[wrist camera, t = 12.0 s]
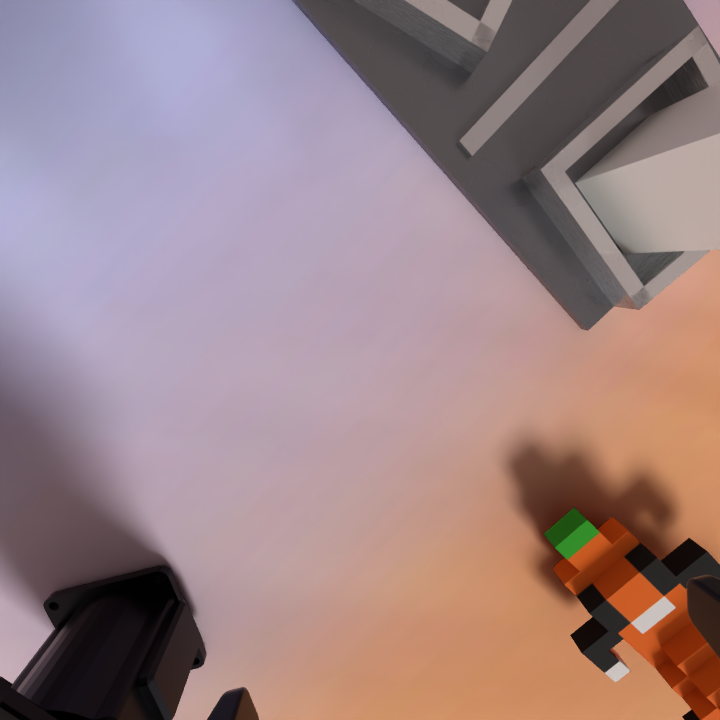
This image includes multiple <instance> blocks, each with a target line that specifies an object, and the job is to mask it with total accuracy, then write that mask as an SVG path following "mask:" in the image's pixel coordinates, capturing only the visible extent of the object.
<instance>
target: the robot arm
mask: <svg viewBox="0 0 720 720" xmlns="http://www.w3.org/2000/svg"><path fill="white" fill-rule="evenodd" d="M159 575H160V576H162V577H163V578H161V577H159ZM44 609H45V611H46V613H47V614H48V616H49V618H50V620H51V622H52V624H53V626H54V627H55V629H54V631H53V632H52V633H51V635H50V636H49V637H48V638H47V640H46V641H45V642H44V644H43V645H42V646H41V648H40V649H39V650H38V652H37V653H36V654H35V655H34V657H33V658H32V659H31V661H30V662H29V663H28V665H27V666H26V667H25V668H24V670H23V671H22V672H21V674H20V675H19V676H18V678H17V679H16V680H15V682H14V683H13V684H12V683H10V682H9V681H7V680H6V679H4V678H3V677H1V676H0V720H172V719H173V717H174V715H175V713H176V710H177V707H178V704H179V701H180V699H181V696H182V693H183V690H184V687H185V684H186V682H187V679H188V676H189V673H190V670H193V669H196V668H199V667H201V666H202V665H203V664H204V661H205V658H206V655H207V654H206V650H205V648H204V646H203V643H202V641H201V635H200V633H199V630H198V628H197V626H196V623H195V621H194V619H193V616H192V614H191V612H190V609H189V607H188V605H187V603H186V602H185V601H184V599H183V596H182V594H181V592H180V589H179V587H178V585H177V582H176V580H175V578H174V575H173V573H172V571H171V570H170V568H168V567H167V566H157V567H153V568H149V569H145V570H141V571H137V572H133V573H129V574H125V575H121V576H117V577H113V578H109V579H105V580H101V581H97V582H93V583H89V584H85V585H81V586H77V587H73V588H69V589H65V590H61V591H57V592H54V593H52V594H51V595H50V596H49V597H48V599H47V600H46V601H45V602H44ZM687 610H688V614H689V617H690V619H691V621H692V623H693V624H694V626H695V627H696V628H697V630H698V631H699V632H700V634H701V635H702V636H703V638H704V639H705V640H706V642H707V643H708V644H709V646H710V647H711V648H712V650H713V651H714V652H715V653H716V655H717V656H718V657H719V659H720V579H719V578H717V577H714V576H711V575H703V576H699V577H694V578H691V579H689V580H688V581H687ZM207 720H259V718H258V714H257V712H256V709H255V707H254V704H253V702H252V699H251V697H250V694H249V692H248V690H247V689H246V688H244V687H241V688H237V689H233V690H229V691H227V692H225V693H224V694H223V695H222V697H221V698H220V700H219V701H218V703H217V705H216V706H215V708H214V709H213V711H212V712H211V714H210V716H209V717H208V719H207Z"/></svg>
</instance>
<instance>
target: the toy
mask: <svg viewBox="0 0 720 720" xmlns="http://www.w3.org/2000/svg"><path fill="white" fill-rule="evenodd" d="M544 535H545V536H546V538H547V539H548V540H549V541H550V543H551V544H552V545H553V546H554V548H555V549H556V550H558V551H559V552H560V553H561V554H562V555H563V556H564V558H563V559H562V560H561V561H560V562H558V563H557V564H556V565H555V568H554V569H553V570H554V572H555V573H556V574H557V576H558V577H559V578H560V580H561V581H562V582H563V584H564V585H565V586H566V587H567V588H568V589H569V590H570V591H571V592H573V593H574V594H575V595H576V596H577V597H578V599H579V600H580V601H581V603H582V604H583V605H584V607H585V608H586V609H587V611H588V612H589V613H590V614H591V615H592V616H593V617H592V618H591V619H590V620H588V621H587V622H586V623H585V624H583V625H582V626H581V627H580V628H579V629H577V630H576V631H575V632H574V633H573V634H571V635H570V636H571V637H572V639H573V640H574V642H575V643H576V645H577V646H578V648H579V649H580V651H581V653H582V654H583V655H585V656H586V657H587V658H588V659H589V660H590V661H592V662H593V663H594V664H595V665H596V666H597V667H598V668H600V669H601V670H602V671H603V672H604V673H605V674H607V675H608V676H609V677H610V678H611V679H612V680H613V681H615V682H617V681H618V680H619V679H621V678H622V677H623V676H624V675H626V674H627V673H628V672H630V669H629V668H628V667H627V665H626V664H625V663H624V661H623V660H622V659H621V657H620V656H619V655H618V653H617V652H616V651H615V650H614V649H612V648H613V647H614V646H615V645H616V644H618V643H619V642H620V641H621V640H623V639H624V640H625V641H626V642H627V643H628V644H630V645H631V646H632V647H633V648H634V649H635V650H636V651H637V652H638V653H639V654H641V655H642V656H643V657H644V658H645V659H646V660H647V661H648V662H649V663H650V664H651V665H653V666H654V667H655V668H656V669H657V670H658V672H659V673H660V674H661V675H662V677H663V678H664V679H665V680H666V682H667V683H668V684H669V685H670V687H671V688H672V689H673V690H674V691H675V692H676V693H678V694H679V695H680V696H681V697H682V698H683V699H684V700H685V702H686V703H687V704H688V705H689V706H690V708H691V709H692V710H690V711H689V712H688V713H686V714H685V715H684V716H682V717H683V718H684V720H720V659H719V657H718V656H717V655H716V653H715V652H714V651H713V650H712V648H711V647H710V646H709V644H708V643H707V642H706V640H705V639H704V638H703V636H702V635H701V634H700V632H699V631H698V630H697V628H696V627H695V626H694V624H693V623H692V621H691V619H690V617H689V614H688V610H687V590H686V588H687V581H688V580H689V579H691V578H694V577H699V576H703V575H711V576H714V577H717V578H719V579H720V565H719V564H718V562H717V561H716V560H715V559H714V558H713V557H712V556H711V555H710V554H709V553H708V552H707V551H706V550H705V549H703V548H702V547H701V546H699V545H698V544H697V543H695V542H694V541H693V540H691V539H690V538H688V539H687V540H686V541H685V542H683V543H682V544H681V545H680V546H679V547H677V548H676V549H675V550H674V551H672V552H671V553H670V554H669V555H668V556H666V557H665V558H664V559H663V560H662V561H660V560H659V559H658V558H657V557H656V556H655V555H654V554H652V553H651V552H650V551H649V550H648V549H647V548H646V547H645V546H643V545H642V544H641V543H640V542H639V541H638V540H637V539H636V538H635V537H634V536H633V535H632V534H631V533H630V532H629V531H628V530H627V529H626V528H625V527H624V526H623V525H622V524H620V523H619V522H618V521H617V520H616V519H615V518H612V517H611V518H610V519H609V520H608V521H606V522H605V523H604V524H603V525H602V526H601V527H599V528H598V529H596V528H595V527H594V526H593V525H592V524H591V523H590V522H589V521H588V520H587V519H586V518H585V517H584V516H583V515H582V514H581V513H580V512H579V511H578V510H577V509H576V508H575V507H574V508H573V509H572V510H571V511H569V512H568V513H567V514H566V515H565V516H564V517H562V518H561V519H560V520H559V521H558V522H557V523H556V524H554V525H553V526H552V527H551V528H550V529H549V530H548V531H546V532H545V533H544Z"/></svg>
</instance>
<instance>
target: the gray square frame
mask: <svg viewBox="0 0 720 720" xmlns="http://www.w3.org/2000/svg"><path fill="white" fill-rule="evenodd" d="M354 1H355V2H357V3H359V4H360V5H362V6H363V7H365V8H367V9H368V10H370V11H372V12H373V13H375V14H376V15H378V16H380V17H381V18H383V19H385V20H386V21H388V22H389V23H391V24H393V25H394V26H396V27H398V28H399V29H401V30H402V31H404V32H406V33H407V34H409V35H411V36H412V37H414V38H416V39H417V40H419V41H420V42H422V43H424V44H425V45H427V46H429V47H430V48H432V49H433V50H435V51H437V52H438V53H440V54H442V55H443V56H445V57H446V58H448V59H450V60H451V61H453V62H455V63H456V64H458V65H459V66H461V67H463V68H464V69H466V70H468V71H469V72H471V73H473V71H474V70H475V69H476V67H477V66H478V64H479V63H480V62H481V60H482V59H483V57H484V56H485V55H486V53H487V52H488V50H489V48H490V45H491V43H492V41H493V39H494V37H495V35H496V33H497V31H498V29H499V27H500V25H501V23H502V20H503V18H504V16H505V14H506V12H507V10H508V8H509V6H510V4H511V2H512V0H487V1H486V4H485V6H484V8H483V10H482V12H481V14H480V16H479V18H478V20H477V19H475V18H474V17H472V16H471V15H469V14H468V13H466V12H465V11H463V10H461V9H460V8H458V7H457V6H455V5H454V4H452V3H451V2H449V1H447V0H354Z"/></svg>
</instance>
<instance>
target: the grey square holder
mask: <svg viewBox="0 0 720 720" xmlns="http://www.w3.org/2000/svg"><path fill="white" fill-rule="evenodd" d="M719 82H720V64H719V62H718V60H717V58H716V57H715V55H714V53H713V51H712V49H711V47H710V46H709V44H708V42H707V40H706V38H705V36H704V35H703V33H702V31H701V29H700V27H699V25H698V26H697V27H695V28H694V29H692V30H691V31H689V32H688V33H686V34H685V35H683V36H682V37H680V38H679V39H677V40H676V41H674V42H673V43H671V44H670V45H668V46H667V47H665V48H663V49H662V50H661V51H660V52H659V53H658V54H657V55H656V56H655V57H654V58H652V59H651V60H650V61H649V62H648V63H647V64H646V65H645V66H644V67H643V68H642V69H640V70H639V71H638V72H637V73H636V74H635V75H634V76H633V77H632V78H631V79H630V80H628V81H627V82H626V83H625V84H624V85H623V86H622V87H621V88H620V89H619V90H618V91H616V92H615V93H614V94H613V95H612V96H611V97H610V98H609V99H608V100H607V101H606V102H604V103H603V104H602V105H601V106H600V107H599V108H598V109H597V110H596V111H595V112H594V113H592V114H591V115H590V116H589V117H588V118H587V119H586V120H585V121H584V122H583V123H582V124H580V125H579V126H578V127H577V128H576V129H575V130H574V131H573V132H572V133H571V134H570V135H568V136H567V137H566V138H565V139H564V140H563V141H562V142H561V143H560V144H559V145H558V146H556V147H555V148H554V149H553V150H552V151H551V152H550V153H549V154H548V155H547V156H546V157H544V158H543V159H542V160H541V161H540V162H539V163H538V164H537V165H536V166H535V167H534V168H532V169H531V170H530V171H529V172H528V173H527V174H526V175H525V176H524V177H523V178H522V180H523V182H524V183H525V185H526V186H527V187H528V189H529V190H530V192H531V193H532V194H533V196H534V197H535V198H536V200H537V201H538V203H539V204H540V205H541V207H542V208H543V210H544V211H545V212H546V214H547V215H548V216H549V218H550V219H551V221H552V222H553V223H554V225H555V226H556V228H557V229H558V230H559V232H560V233H561V234H562V236H563V237H564V239H565V240H566V241H567V243H568V244H569V245H570V247H571V248H572V250H573V251H574V252H575V254H576V255H577V257H578V258H579V259H580V261H581V262H582V263H583V265H584V266H585V268H586V269H587V270H588V272H589V273H590V275H591V276H592V277H593V279H594V280H595V281H596V283H597V284H598V286H599V287H600V288H601V290H602V291H603V293H604V294H605V295H606V297H607V298H608V299H609V301H610V302H611V304H612V305H613V306H615V307H622V308H629V309H636V310H640V309H641V308H642V307H643V306H644V305H646V304H647V303H648V302H649V301H650V300H652V299H653V298H654V297H655V296H656V295H658V294H659V293H660V292H661V291H662V290H664V289H665V288H666V287H667V286H668V285H670V284H671V283H672V282H673V281H674V280H676V279H677V278H678V277H679V276H680V275H682V274H683V273H684V272H685V271H686V270H688V269H689V268H690V267H691V266H692V265H694V264H695V263H696V262H697V261H698V260H700V259H701V258H702V257H703V256H704V255H706V254H707V253H708V252H709V251H710V250H697V251H674V252H655V253H654V254H653V255H652V256H651V257H650V258H648V259H647V260H646V261H645V262H644V263H643V264H641V265H640V266H639V267H638V268H637V269H635V270H634V271H633V270H632V268H631V267H630V265H629V264H628V262H627V261H626V260H625V258H624V257H623V255H622V254H621V252H620V251H619V249H618V248H617V247H616V245H615V244H614V242H613V241H612V239H611V238H610V236H609V235H608V233H607V232H606V231H605V229H604V228H603V226H602V225H601V223H600V222H599V220H598V219H597V218H596V216H595V215H594V213H593V212H592V210H591V209H590V207H589V206H588V205H587V203H586V202H585V200H584V199H583V197H582V196H581V194H580V193H579V191H578V190H577V189H576V187H575V186H574V184H573V183H572V181H571V180H570V178H569V177H568V176H567V174H566V173H565V171H566V170H567V169H568V168H569V167H570V166H571V165H573V164H574V163H575V162H576V161H577V160H578V159H579V158H580V157H581V156H582V155H584V154H585V153H586V152H587V151H588V150H589V149H590V148H591V147H592V146H594V145H595V144H596V143H597V142H598V141H599V140H600V139H601V138H602V137H603V136H605V135H606V134H607V133H608V132H609V131H610V130H611V129H612V128H613V127H615V126H616V125H617V124H618V123H619V122H620V121H621V120H622V119H623V118H624V117H626V116H627V115H628V114H629V113H630V112H631V111H632V110H633V109H634V108H635V107H637V106H638V105H639V104H640V103H641V102H642V101H643V100H644V99H645V98H647V97H648V96H649V95H650V94H651V93H652V92H653V91H654V90H655V89H656V88H658V87H659V86H660V85H661V84H663V86H664V88H665V89H666V91H667V93H668V95H669V96H670V98H671V100H672V101H673V103H674V104H675V103H677V102H679V101H681V100H683V99H685V98H687V97H689V96H691V95H693V94H696V93H698V92H700V91H702V90H704V89H706V88H708V87H710V86H712V85H714V84H717V83H719Z"/></svg>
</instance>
